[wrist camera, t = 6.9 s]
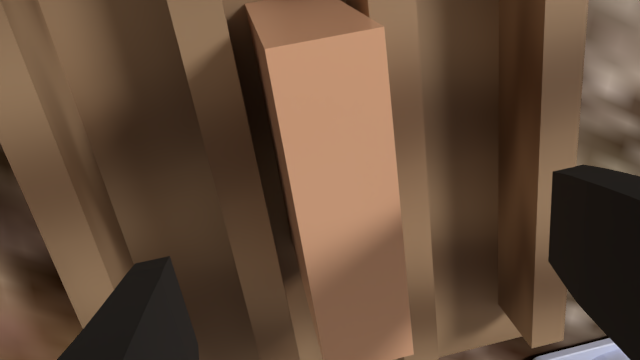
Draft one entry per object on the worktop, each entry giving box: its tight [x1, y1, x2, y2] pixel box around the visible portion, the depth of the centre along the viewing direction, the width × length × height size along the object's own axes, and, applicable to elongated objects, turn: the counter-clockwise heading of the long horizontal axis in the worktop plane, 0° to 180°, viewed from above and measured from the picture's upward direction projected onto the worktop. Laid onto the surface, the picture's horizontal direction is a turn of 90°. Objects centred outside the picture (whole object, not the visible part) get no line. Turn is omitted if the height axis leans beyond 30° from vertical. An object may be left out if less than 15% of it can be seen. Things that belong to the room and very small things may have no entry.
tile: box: [245, 0, 414, 360], centre depth 14 cm, size 8×2×6 cm, turn 9°
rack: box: [0, 0, 588, 360], centre depth 16 cm, size 22×15×3 cm
